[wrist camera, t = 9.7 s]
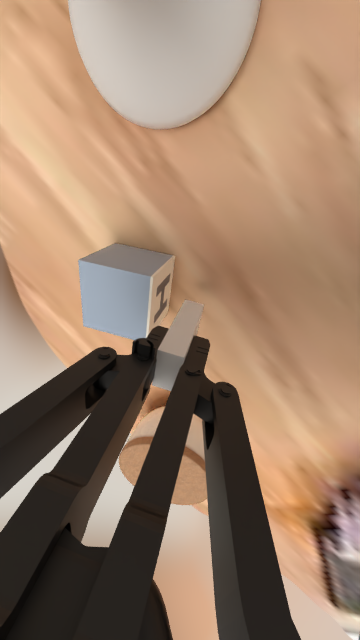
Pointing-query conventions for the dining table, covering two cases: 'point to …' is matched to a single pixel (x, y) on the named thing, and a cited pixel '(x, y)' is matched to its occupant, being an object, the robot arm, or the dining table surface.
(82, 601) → the robot arm
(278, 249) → the dining table surface
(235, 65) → the flower in vase
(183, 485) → the lidded jar
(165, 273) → the block
